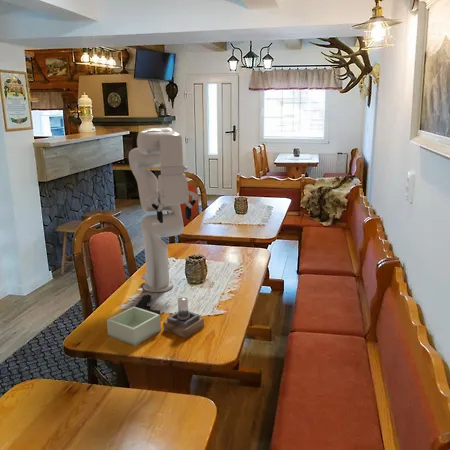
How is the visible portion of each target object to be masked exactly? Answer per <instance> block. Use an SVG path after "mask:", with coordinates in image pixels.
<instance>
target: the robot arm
mask: <svg viewBox="0 0 450 450" xmlns="http://www.w3.org/2000/svg"><path fill="white" fill-rule="evenodd" d="M136 146H137V147H134V148H132V149H131V150H130V151H129V152H128V163H129V167H130V170H131V172H132V174H133V176H134V178H135V180H136V183H137V189H138V195H139V201H140V206H141V209H142V211H144V213H156V214H150V215H146V216H144V217H143V218H142V219H141V221H140V230H141V234H142V238H143V245H144V246H143V247H144V255H145V257H144V258H145V259H144V260H145V273H143V274H142V276H141V280H142V281H144V283H143V290H144V291H146V292H149V293H163V292H167V291H170V290H171V289H172V288H173V287H174V282H173V281H172V280H170V267H169V252H168V251H169V250H168V246H167V243H165V241H164V240H163V239H162V238H166V237H174V236H179V235H182V234H183V232H184V229H185V228H184V227H185V226H184V221H183V220H184V219H183V213H182V208H181V205H183V204H184V205H185V219H187V220H188V221H191V217H192V208H193V207H194V206H195V204H196V201H197V200H198V198H199V195H198V194H197V193H195V192H193V191H190V190H189V186H188V180H187V175H186V174H185V172H186V171H188V166H185V165H184V158H183V157H184V155H183V153H184V152H183V137H182V135H181V134H180V133H178V132H177V131H174V130H173V129H172V128H171V127H153V128H151V127H148V128H145V129H143V130H141V131H140V132H139V133H137V138H136ZM159 167H160V174H159V175H158V177H157V176H156V175H155V174H154V173H153V172H152V171H151V170H149V168H159ZM190 196H191V198H192V199H191V200H190ZM163 212H167V213H163Z"/></svg>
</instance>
